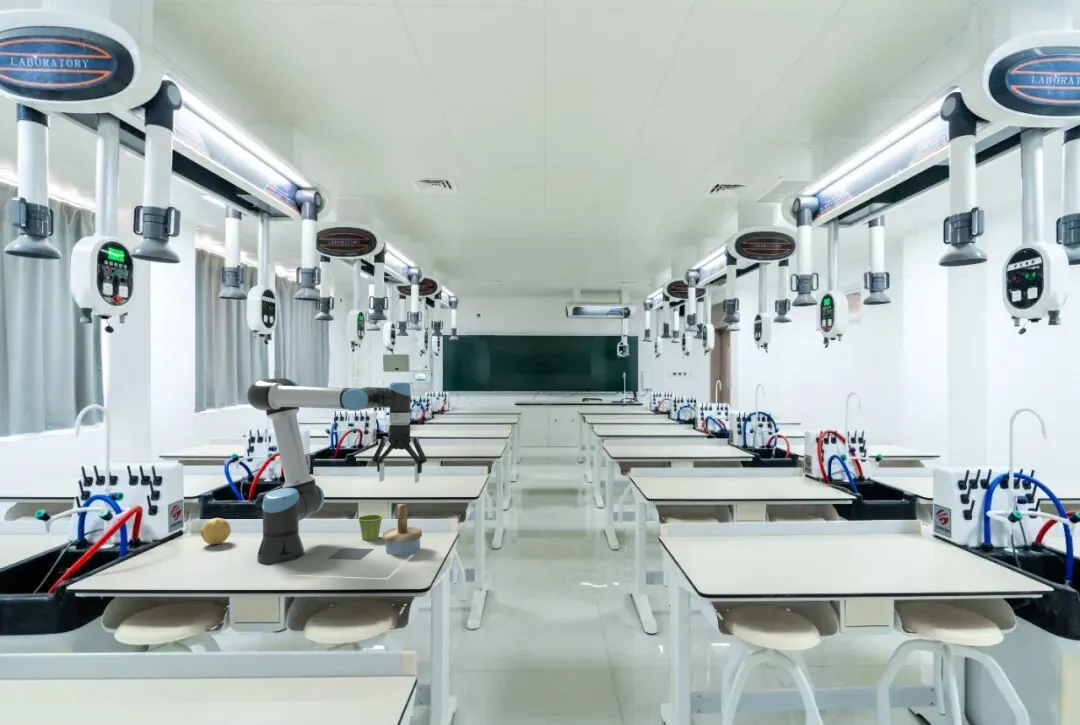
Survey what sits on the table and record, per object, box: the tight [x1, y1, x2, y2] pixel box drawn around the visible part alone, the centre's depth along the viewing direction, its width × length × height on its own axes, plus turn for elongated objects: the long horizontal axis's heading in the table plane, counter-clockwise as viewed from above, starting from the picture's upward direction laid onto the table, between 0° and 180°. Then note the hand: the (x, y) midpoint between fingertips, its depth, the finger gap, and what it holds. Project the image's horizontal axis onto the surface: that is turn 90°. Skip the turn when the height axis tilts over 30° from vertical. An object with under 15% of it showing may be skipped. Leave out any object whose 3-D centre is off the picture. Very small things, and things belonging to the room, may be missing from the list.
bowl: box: [384, 537, 421, 556], centre depth 211 cm, size 12×12×6 cm
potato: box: [200, 517, 232, 545], centre depth 221 cm, size 10×10×10 cm
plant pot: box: [357, 514, 383, 542], centre depth 227 cm, size 9×9×9 cm
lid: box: [382, 503, 423, 542], centre depth 211 cm, size 14×14×12 cm
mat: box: [327, 547, 375, 561], centre depth 207 cm, size 12×12×1 cm
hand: (399, 481), depth 213 cm, fingers open, 13 cm apart
